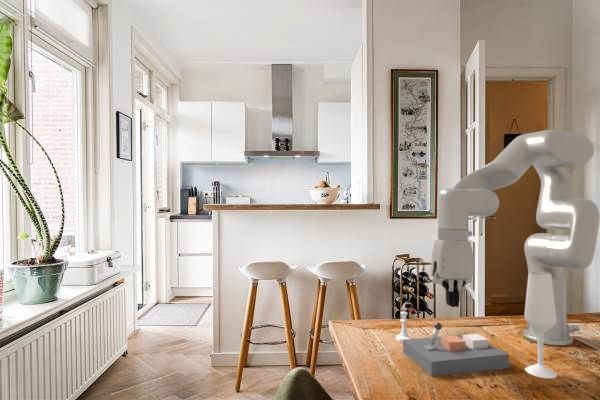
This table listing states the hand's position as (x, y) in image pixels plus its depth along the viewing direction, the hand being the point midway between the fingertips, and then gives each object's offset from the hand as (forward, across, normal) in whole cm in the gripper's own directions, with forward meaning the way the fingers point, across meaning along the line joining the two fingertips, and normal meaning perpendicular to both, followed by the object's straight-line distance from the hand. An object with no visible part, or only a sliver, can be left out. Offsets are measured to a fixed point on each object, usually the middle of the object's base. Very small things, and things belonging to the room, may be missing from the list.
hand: (452, 305), depth 102 cm
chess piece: (+15, +5, -17) cm, 23 cm away
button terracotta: (+11, 0, 0) cm, 11 cm away
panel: (+14, 0, 0) cm, 14 cm away
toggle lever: (+10, +6, 0) cm, 12 cm away
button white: (+11, -7, 0) cm, 13 cm away
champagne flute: (+14, -17, +11) cm, 25 cm away
